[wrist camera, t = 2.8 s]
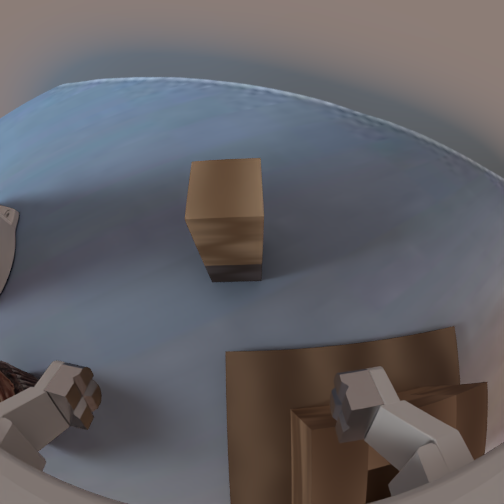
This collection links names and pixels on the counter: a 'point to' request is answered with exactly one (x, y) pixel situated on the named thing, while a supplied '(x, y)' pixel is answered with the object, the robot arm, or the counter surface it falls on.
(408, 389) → the post block
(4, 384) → the cupcake
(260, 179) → the rail end
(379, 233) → the counter surface
